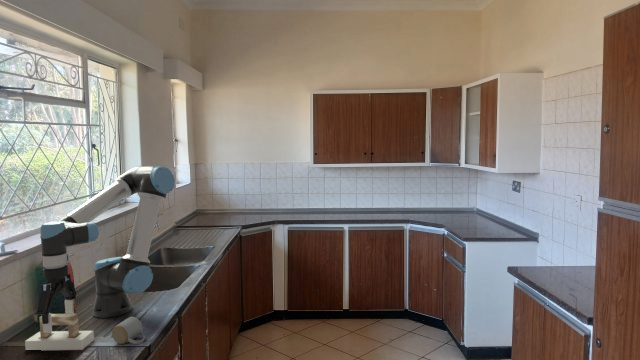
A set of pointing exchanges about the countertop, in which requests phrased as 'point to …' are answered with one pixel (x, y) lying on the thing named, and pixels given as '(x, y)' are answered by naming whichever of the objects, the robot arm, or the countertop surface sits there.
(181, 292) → the countertop surface
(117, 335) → the ceramic mug
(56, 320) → the clip
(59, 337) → the white flat block
